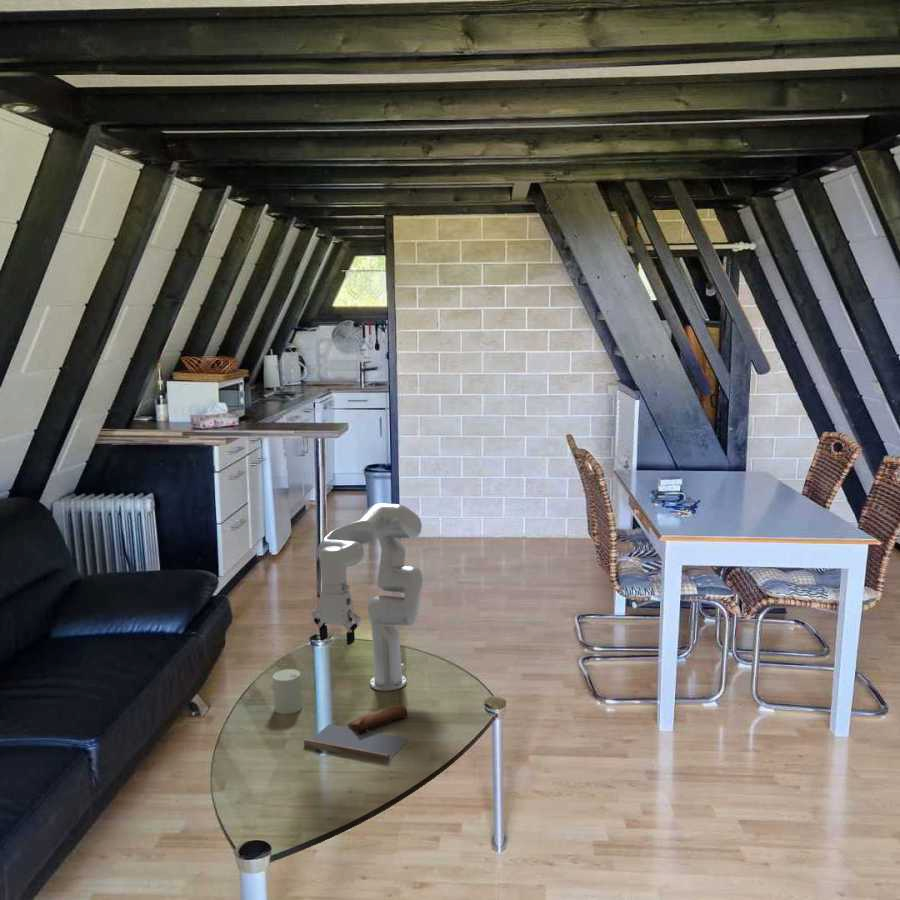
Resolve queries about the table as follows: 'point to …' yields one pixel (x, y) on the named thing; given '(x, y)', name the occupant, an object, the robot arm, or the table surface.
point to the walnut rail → (347, 750)
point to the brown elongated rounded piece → (377, 718)
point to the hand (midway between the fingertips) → (337, 641)
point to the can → (287, 691)
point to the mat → (362, 739)
